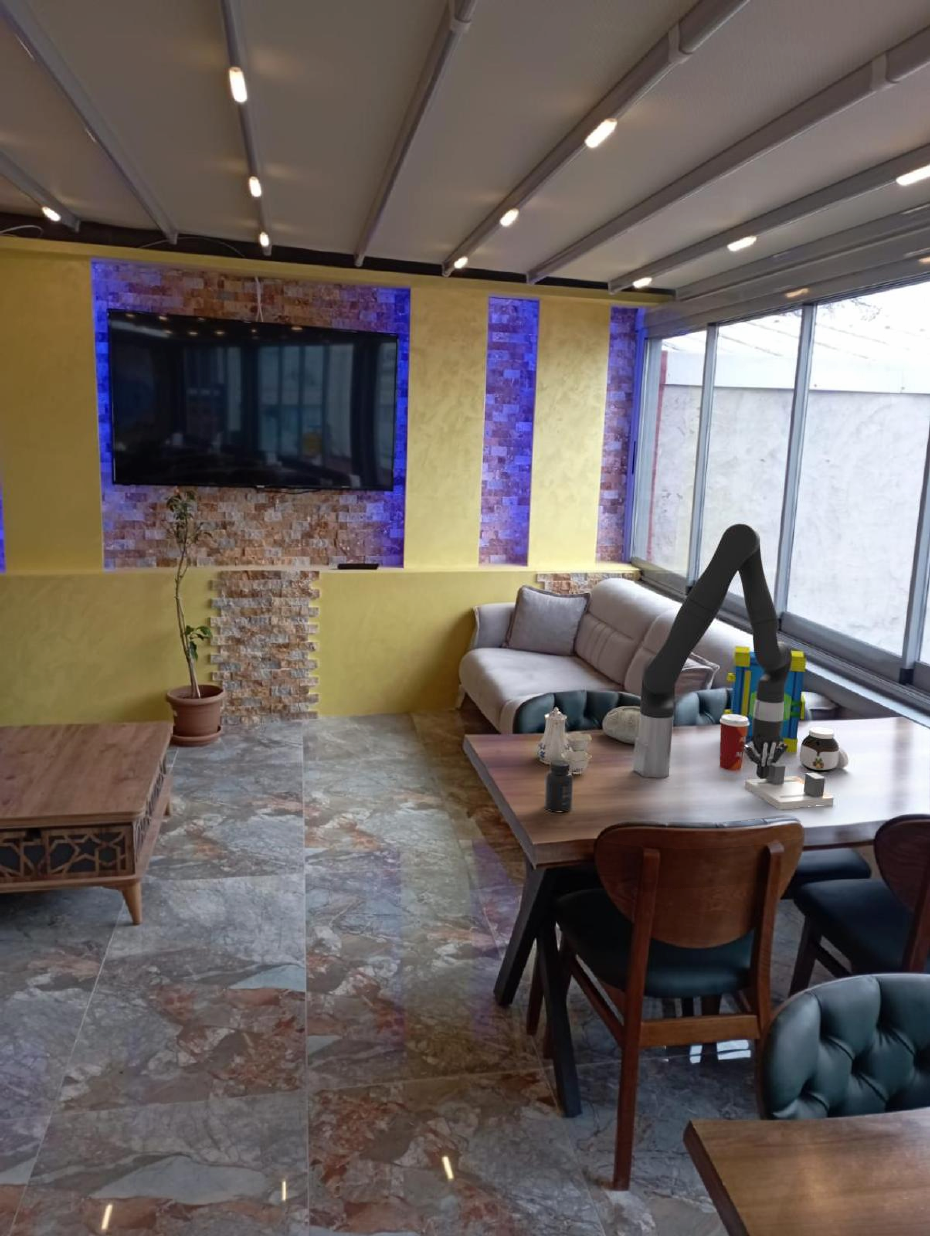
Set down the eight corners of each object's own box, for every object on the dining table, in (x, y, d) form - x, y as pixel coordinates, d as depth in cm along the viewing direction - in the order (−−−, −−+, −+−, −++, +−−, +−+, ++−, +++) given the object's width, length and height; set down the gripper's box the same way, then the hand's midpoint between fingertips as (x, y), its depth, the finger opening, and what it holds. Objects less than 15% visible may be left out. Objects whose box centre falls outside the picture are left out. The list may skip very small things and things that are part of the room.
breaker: (813, 797, 230) (815, 778, 229) (803, 791, 234) (805, 773, 233) (823, 796, 231) (825, 778, 230) (813, 790, 235) (815, 772, 234)
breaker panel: (779, 809, 227) (780, 802, 227) (744, 786, 242) (745, 779, 242) (832, 805, 231) (833, 797, 231) (795, 783, 246) (795, 776, 246)
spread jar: (795, 767, 259) (799, 729, 257) (809, 758, 267) (813, 721, 265) (837, 778, 251) (841, 739, 249) (850, 769, 259) (855, 730, 257)
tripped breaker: (773, 784, 238) (775, 766, 238) (765, 779, 242) (766, 761, 241) (783, 783, 239) (785, 766, 238) (774, 778, 243) (776, 761, 242)
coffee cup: (746, 773, 253) (751, 722, 250) (716, 770, 254) (721, 720, 252) (743, 763, 261) (748, 714, 258) (714, 760, 262) (719, 712, 260)
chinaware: (594, 785, 244) (604, 728, 241) (534, 776, 244) (543, 719, 241) (586, 752, 271) (595, 700, 268) (532, 744, 272) (540, 692, 269)
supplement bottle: (569, 803, 227) (572, 758, 225) (573, 813, 220) (576, 767, 218) (542, 802, 226) (545, 757, 224) (546, 813, 220) (548, 767, 218)
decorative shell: (621, 751, 269) (623, 719, 267) (590, 733, 285) (592, 703, 283) (670, 745, 276) (672, 714, 274) (637, 728, 292) (639, 699, 290)
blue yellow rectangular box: (800, 755, 270) (810, 659, 264) (722, 747, 275) (730, 653, 270) (796, 741, 283) (805, 650, 278) (721, 733, 289) (729, 644, 284)
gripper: (754, 721, 231) (748, 784, 234) (798, 719, 234) (791, 781, 237) (738, 713, 238) (732, 774, 241) (781, 711, 241) (775, 771, 244)
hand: (762, 777), depth 239 cm, fingers closed
